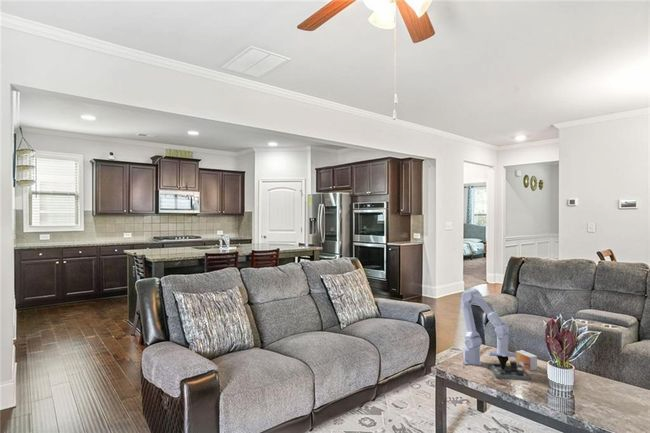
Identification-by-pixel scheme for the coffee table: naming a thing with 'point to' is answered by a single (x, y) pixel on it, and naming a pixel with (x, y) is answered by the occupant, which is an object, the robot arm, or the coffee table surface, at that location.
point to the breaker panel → (515, 372)
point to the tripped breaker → (507, 367)
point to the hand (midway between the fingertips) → (502, 368)
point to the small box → (526, 360)
